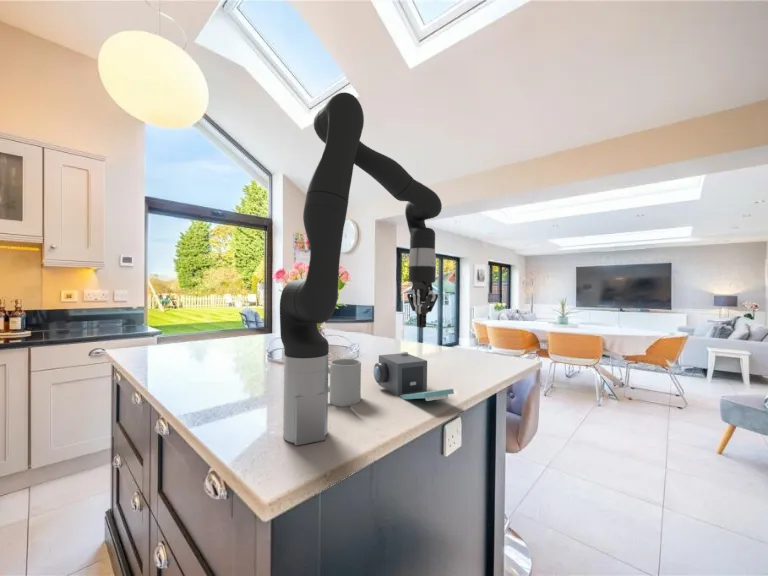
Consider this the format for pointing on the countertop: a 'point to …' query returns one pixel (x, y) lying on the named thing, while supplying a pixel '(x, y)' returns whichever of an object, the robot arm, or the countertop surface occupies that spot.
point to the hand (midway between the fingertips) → (421, 327)
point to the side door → (429, 395)
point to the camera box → (401, 373)
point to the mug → (345, 382)
